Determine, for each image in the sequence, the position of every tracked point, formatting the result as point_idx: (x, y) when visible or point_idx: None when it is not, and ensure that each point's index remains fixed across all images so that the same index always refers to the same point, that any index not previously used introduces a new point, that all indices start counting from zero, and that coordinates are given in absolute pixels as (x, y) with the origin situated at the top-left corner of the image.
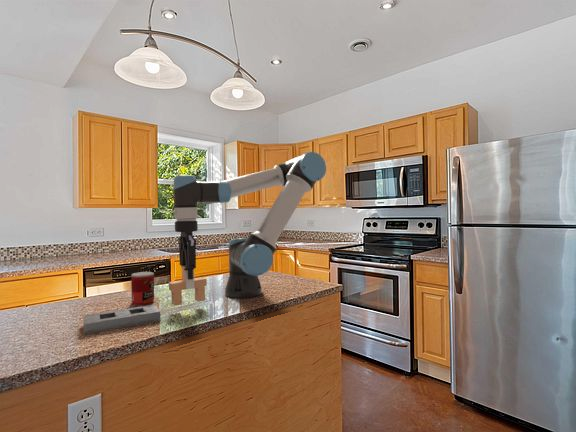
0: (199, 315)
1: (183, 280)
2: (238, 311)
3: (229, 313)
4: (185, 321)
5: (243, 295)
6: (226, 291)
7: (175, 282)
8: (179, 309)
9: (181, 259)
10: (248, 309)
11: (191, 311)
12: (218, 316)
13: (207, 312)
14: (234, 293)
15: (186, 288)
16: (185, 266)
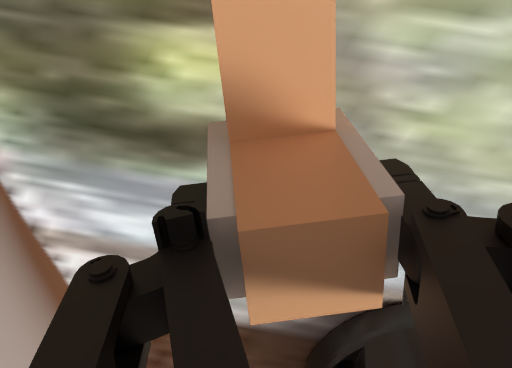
0: (112, 123)
1: (287, 138)
2: None
3: (89, 257)
4: (19, 27)
5: (313, 364)
6: (407, 322)
7: (267, 50)
8: None
9: (492, 276)
10: None
11: (214, 96)
12: (56, 205)
13: (152, 171)
14: (344, 343)
15: (208, 127)
16: (308, 248)
